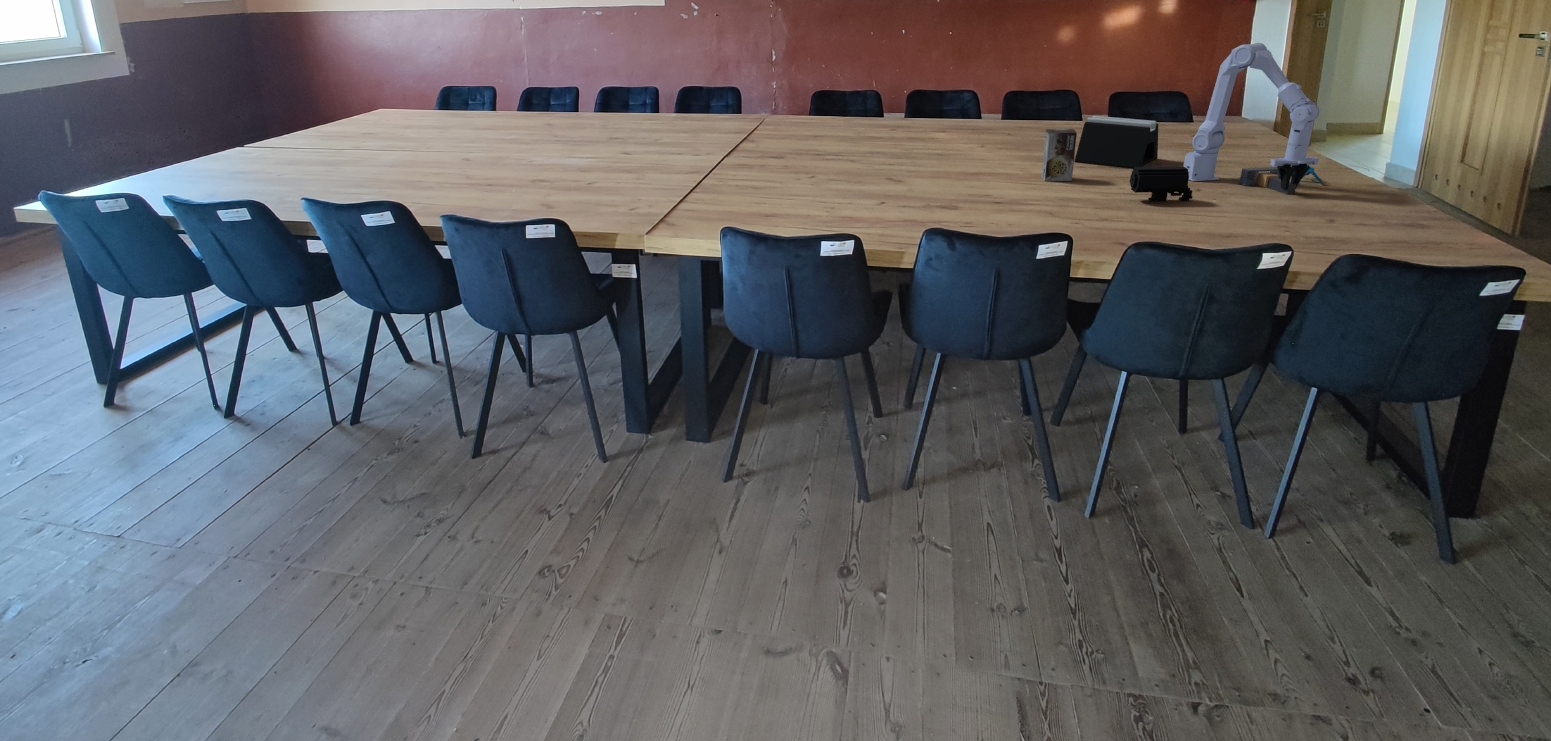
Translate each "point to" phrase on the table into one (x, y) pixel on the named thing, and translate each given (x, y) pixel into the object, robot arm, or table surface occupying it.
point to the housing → (1255, 175)
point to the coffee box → (1059, 154)
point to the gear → (1311, 170)
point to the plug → (1274, 183)
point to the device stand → (1118, 142)
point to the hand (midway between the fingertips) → (1288, 188)
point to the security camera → (1161, 182)
